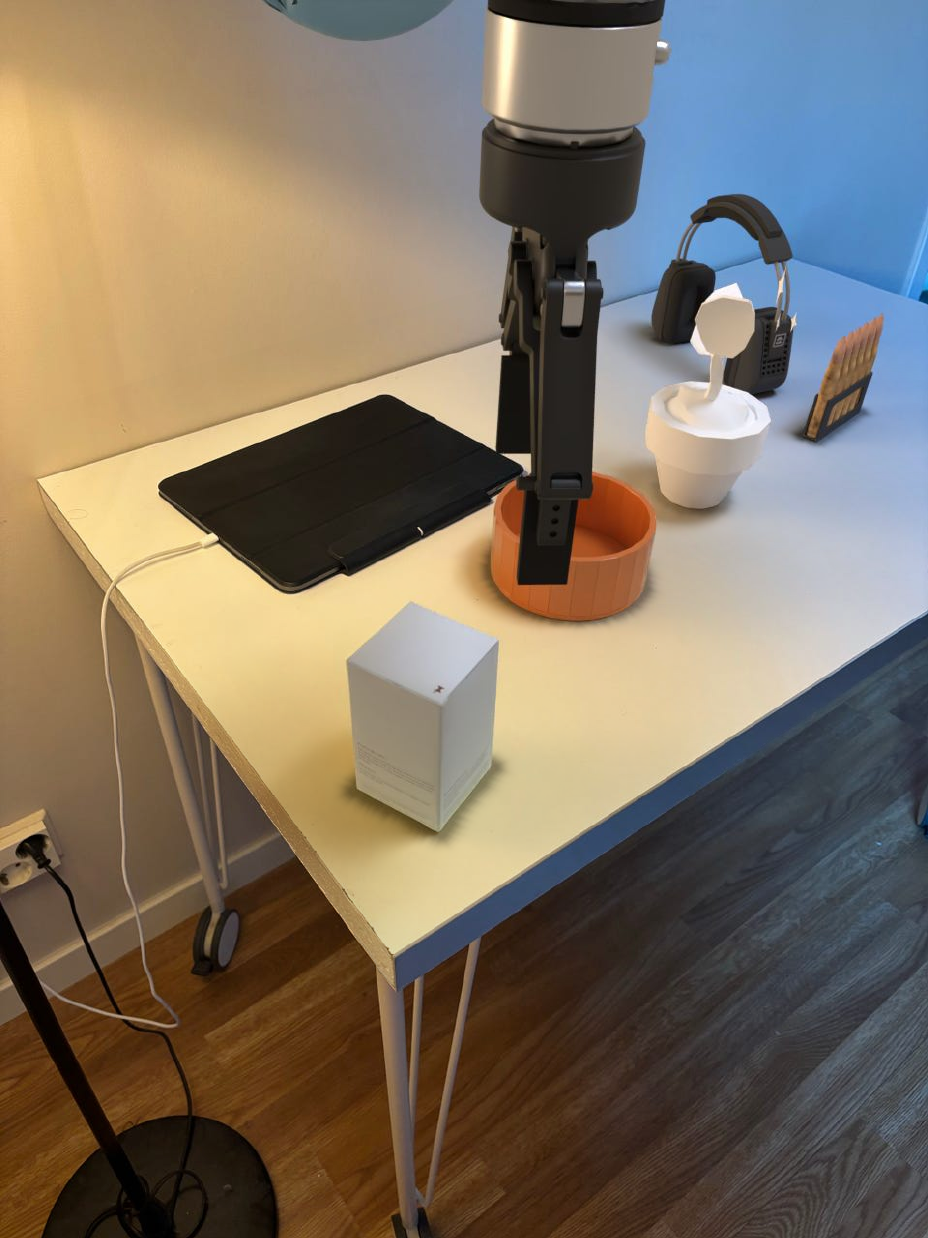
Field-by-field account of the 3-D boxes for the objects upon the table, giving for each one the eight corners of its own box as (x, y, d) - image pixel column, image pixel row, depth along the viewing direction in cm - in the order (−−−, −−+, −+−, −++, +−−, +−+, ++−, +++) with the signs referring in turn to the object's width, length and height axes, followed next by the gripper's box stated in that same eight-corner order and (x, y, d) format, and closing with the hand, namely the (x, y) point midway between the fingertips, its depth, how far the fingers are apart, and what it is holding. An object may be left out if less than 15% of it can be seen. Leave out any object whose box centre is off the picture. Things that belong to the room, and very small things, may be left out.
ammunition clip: (846, 405, 114) (878, 308, 106) (860, 411, 113) (893, 313, 105) (801, 436, 108) (831, 335, 100) (816, 442, 107) (848, 341, 99)
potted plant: (740, 537, 93) (809, 284, 76) (623, 510, 96) (665, 260, 79) (757, 473, 102) (823, 234, 85) (650, 450, 105) (693, 215, 88)
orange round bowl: (498, 622, 82) (502, 562, 78) (484, 526, 93) (488, 469, 88) (660, 619, 83) (673, 560, 79) (628, 525, 94) (638, 468, 89)
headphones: (787, 395, 116) (834, 226, 102) (745, 404, 113) (788, 233, 100) (682, 323, 131) (712, 168, 118) (643, 330, 128) (669, 173, 115)
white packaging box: (494, 767, 70) (504, 638, 61) (438, 836, 65) (441, 707, 57) (411, 725, 73) (411, 597, 64) (351, 788, 68) (342, 659, 60)
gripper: (717, 215, 34) (629, 650, 48) (600, 64, 53) (561, 408, 67) (509, 212, 34) (481, 652, 48) (465, 61, 52) (454, 408, 66)
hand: (527, 510), depth 57 cm, fingers open, 13 cm apart
